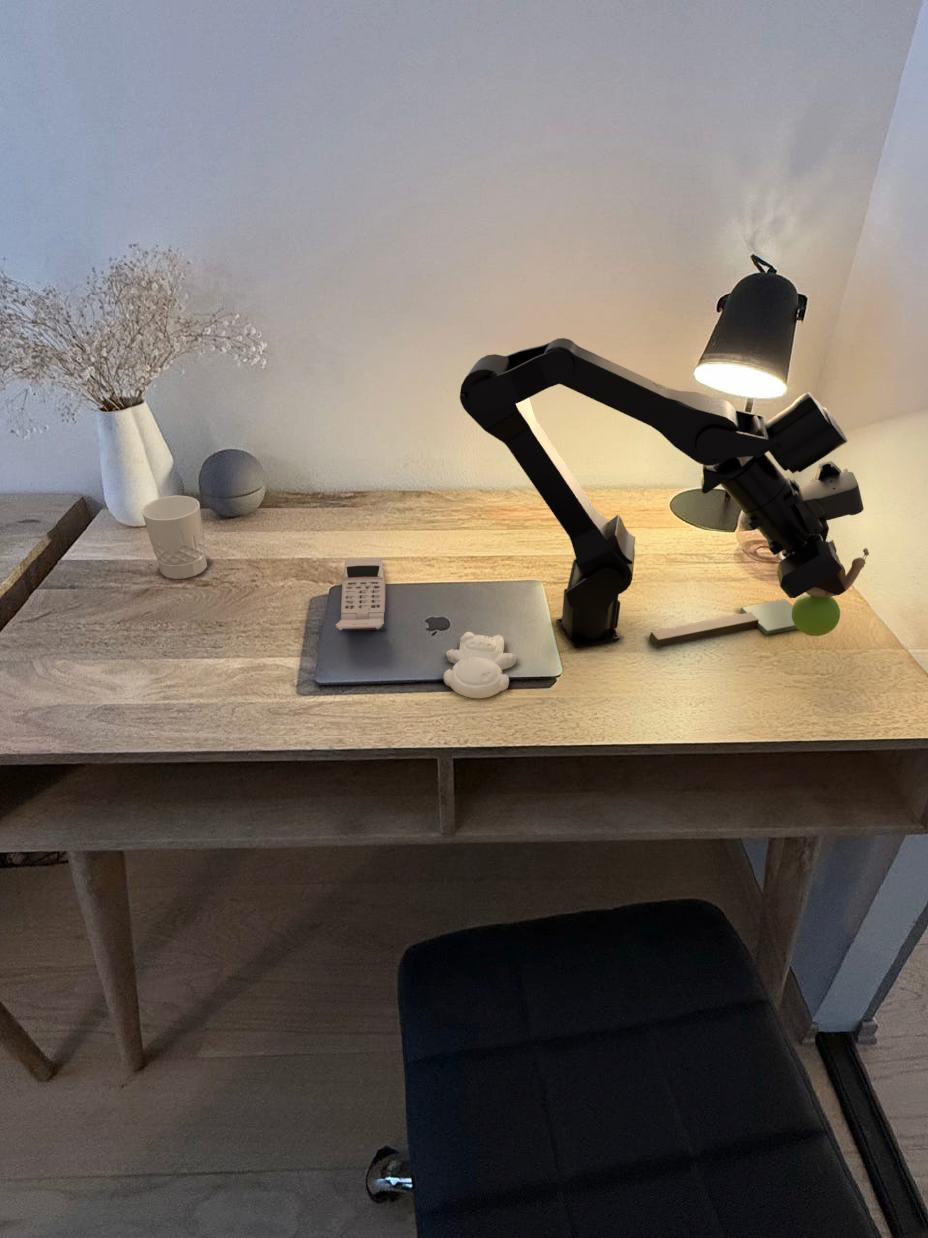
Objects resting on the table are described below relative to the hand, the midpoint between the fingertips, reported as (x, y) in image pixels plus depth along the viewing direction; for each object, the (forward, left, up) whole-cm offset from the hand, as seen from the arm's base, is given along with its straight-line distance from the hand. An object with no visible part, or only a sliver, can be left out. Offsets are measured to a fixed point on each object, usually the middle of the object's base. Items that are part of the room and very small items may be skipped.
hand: (840, 588), depth 98 cm
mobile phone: (-52, +29, -11) cm, 60 cm away
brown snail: (-1, +1, -7) cm, 7 cm away
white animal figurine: (-41, +12, -11) cm, 44 cm away
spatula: (-7, +10, -10) cm, 16 cm away
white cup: (-75, +49, -11) cm, 90 cm away
